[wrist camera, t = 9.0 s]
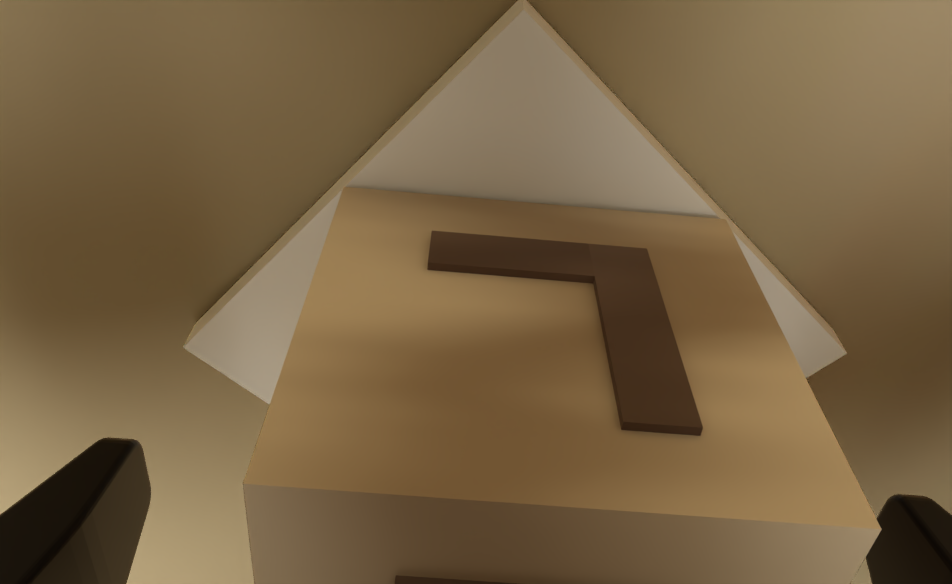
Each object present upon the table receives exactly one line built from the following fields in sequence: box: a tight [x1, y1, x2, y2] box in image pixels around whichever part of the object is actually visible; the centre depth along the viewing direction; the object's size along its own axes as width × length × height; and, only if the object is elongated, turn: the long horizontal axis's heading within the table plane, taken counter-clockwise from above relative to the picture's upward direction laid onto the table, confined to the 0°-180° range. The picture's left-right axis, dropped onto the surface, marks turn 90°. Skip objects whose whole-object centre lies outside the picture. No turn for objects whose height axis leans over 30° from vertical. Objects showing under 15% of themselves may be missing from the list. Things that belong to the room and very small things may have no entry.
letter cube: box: [243, 187, 882, 584], centre depth 10 cm, size 5×5×5 cm
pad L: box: [183, 0, 847, 405], centre depth 12 cm, size 7×7×1 cm
